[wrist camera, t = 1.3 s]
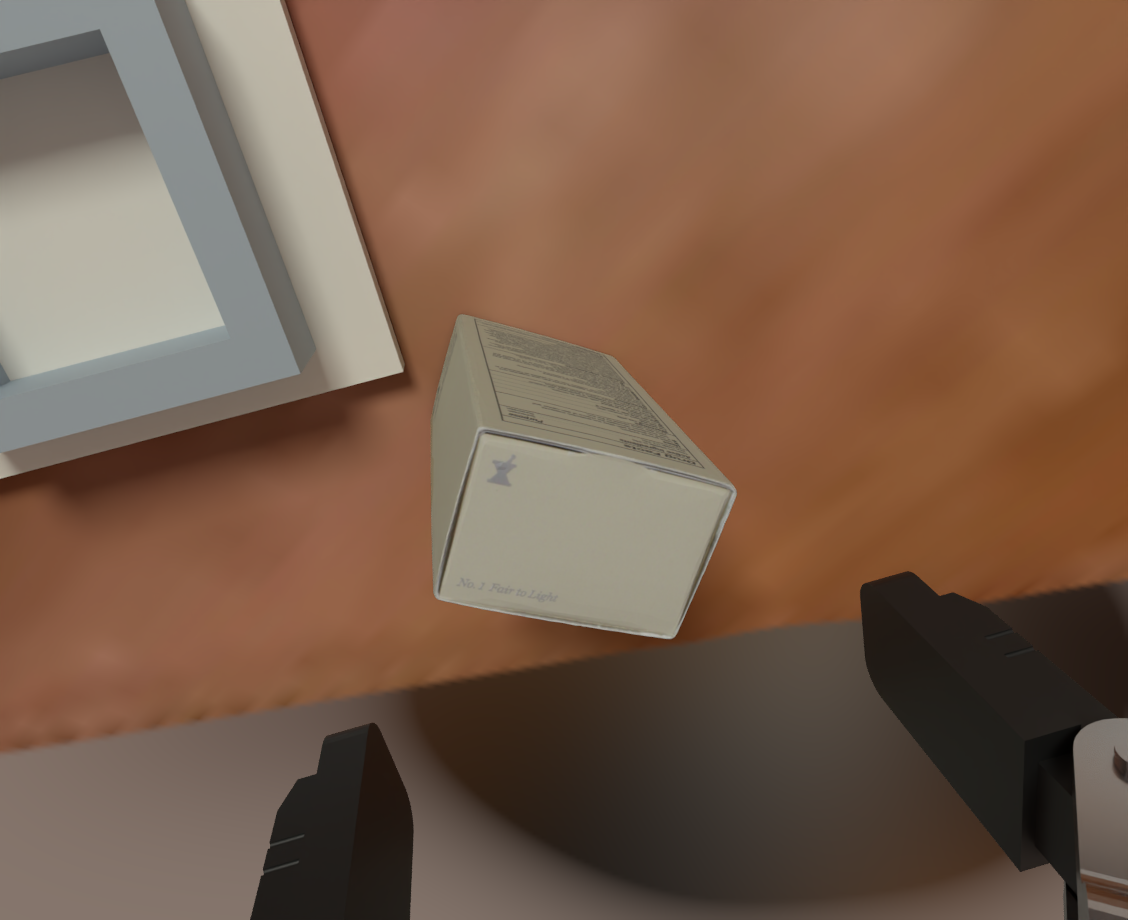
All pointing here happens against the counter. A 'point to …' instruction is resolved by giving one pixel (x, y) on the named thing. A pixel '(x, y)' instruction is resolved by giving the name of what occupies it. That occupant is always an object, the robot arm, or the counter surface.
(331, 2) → the counter surface
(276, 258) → the collar block
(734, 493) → the skincare box
